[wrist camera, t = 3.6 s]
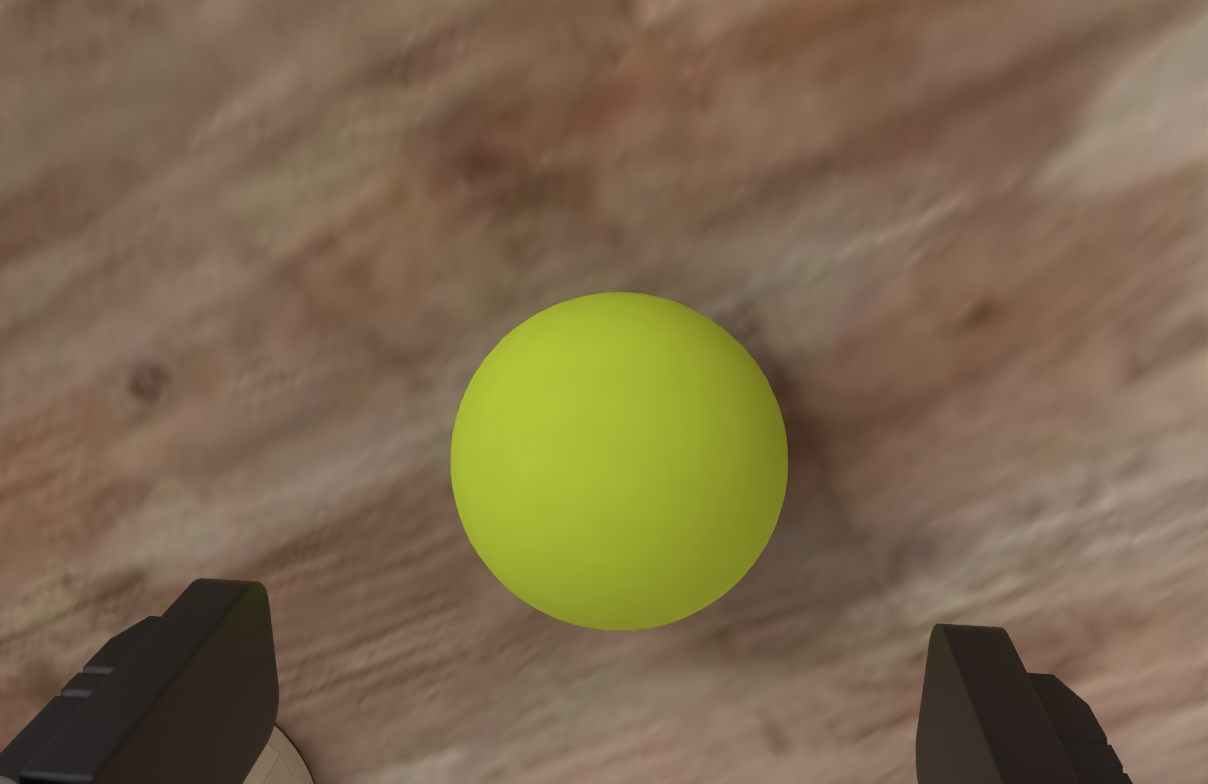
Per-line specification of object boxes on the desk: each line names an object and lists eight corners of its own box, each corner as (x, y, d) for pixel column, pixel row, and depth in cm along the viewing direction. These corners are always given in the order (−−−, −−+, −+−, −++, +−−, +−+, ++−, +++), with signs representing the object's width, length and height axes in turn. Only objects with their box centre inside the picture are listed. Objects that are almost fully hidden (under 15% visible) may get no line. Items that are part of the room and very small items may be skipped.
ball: (489, 524, 23) (420, 691, 17) (482, 255, 21) (400, 341, 15) (766, 539, 22) (788, 715, 16) (786, 264, 20) (820, 357, 14)
